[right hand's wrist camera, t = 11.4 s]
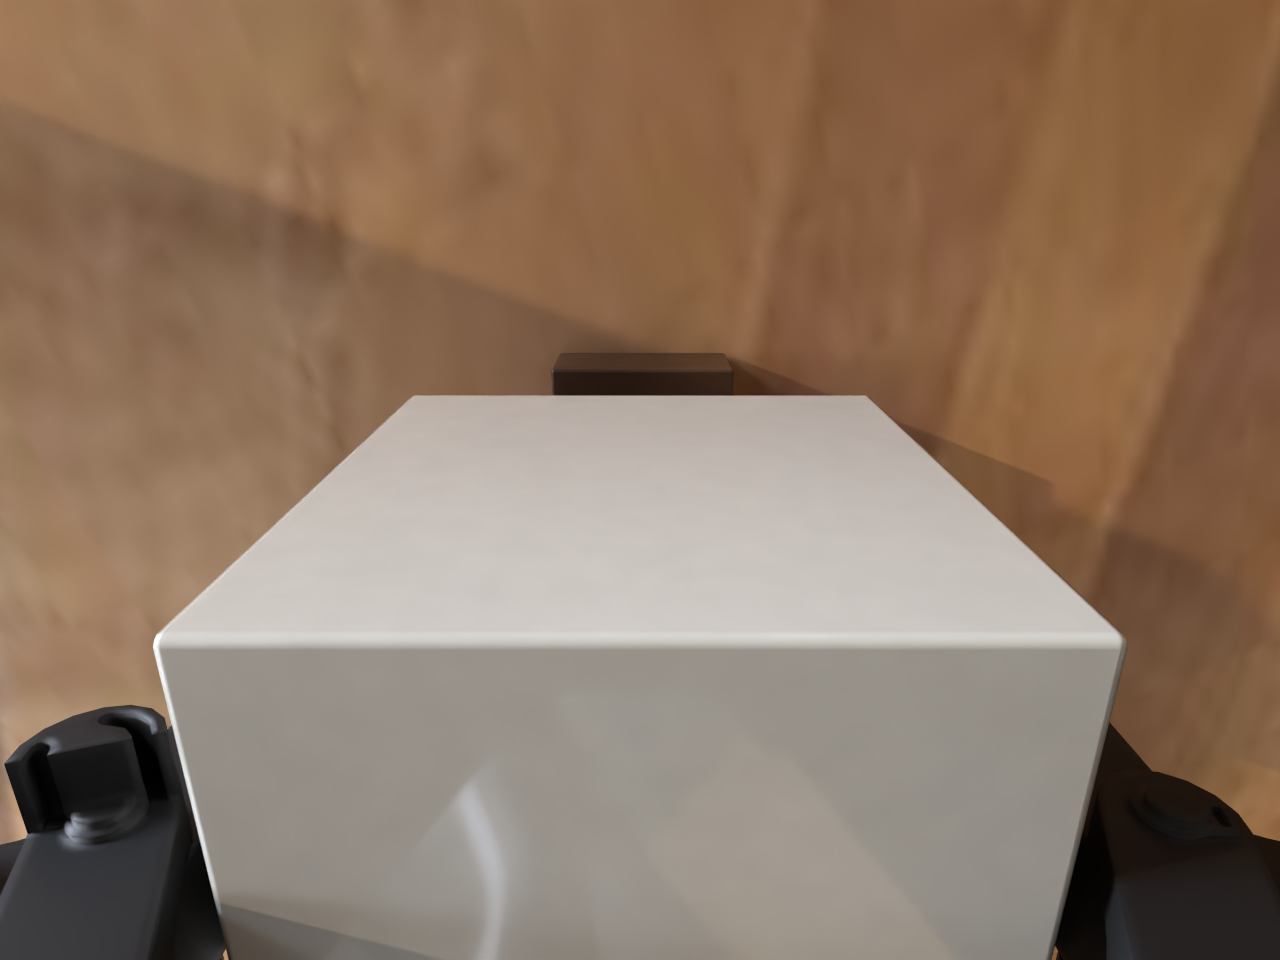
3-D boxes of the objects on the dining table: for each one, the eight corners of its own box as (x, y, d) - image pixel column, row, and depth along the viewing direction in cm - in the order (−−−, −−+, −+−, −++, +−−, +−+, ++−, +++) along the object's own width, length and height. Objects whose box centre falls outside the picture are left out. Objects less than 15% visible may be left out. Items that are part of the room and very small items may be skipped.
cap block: (448, 767, 15) (292, 1242, 8) (410, 394, 12) (143, 637, 6) (831, 767, 15) (987, 1242, 8) (869, 394, 12) (1135, 638, 6)
